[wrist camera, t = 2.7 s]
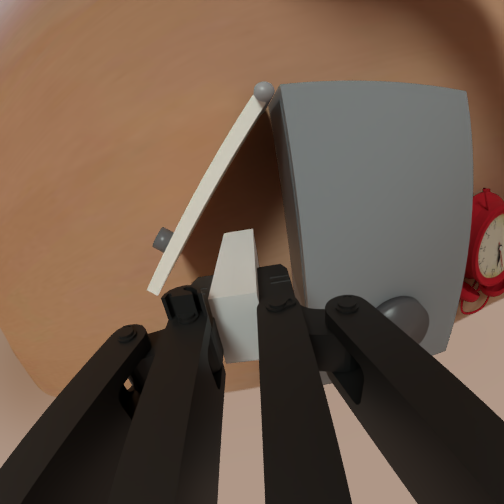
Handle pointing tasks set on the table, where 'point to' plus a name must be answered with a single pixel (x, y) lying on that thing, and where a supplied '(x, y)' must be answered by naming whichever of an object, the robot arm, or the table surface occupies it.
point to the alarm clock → (485, 249)
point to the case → (377, 198)
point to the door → (208, 186)
